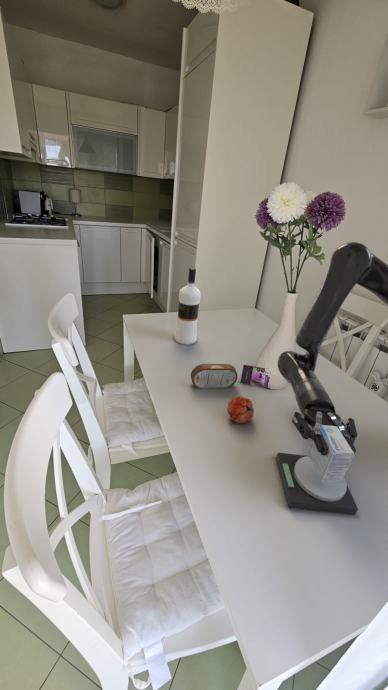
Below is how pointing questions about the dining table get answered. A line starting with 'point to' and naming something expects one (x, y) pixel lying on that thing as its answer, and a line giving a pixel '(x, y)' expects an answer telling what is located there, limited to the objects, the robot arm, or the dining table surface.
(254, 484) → the dining table surface
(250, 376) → the purple box
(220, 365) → the tin
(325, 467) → the medicine box
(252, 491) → the dining table surface
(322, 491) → the kitchen scale
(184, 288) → the vodka
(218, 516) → the dining table surface
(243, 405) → the pomegranate
